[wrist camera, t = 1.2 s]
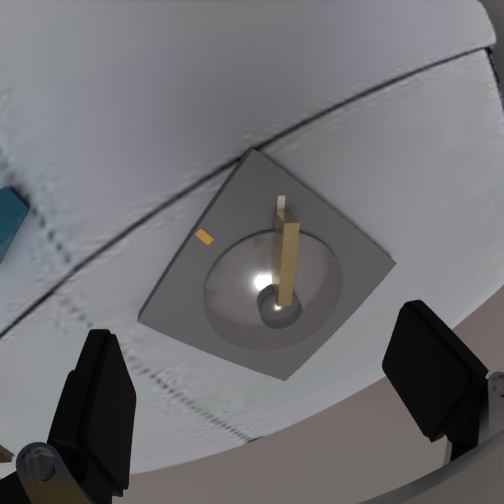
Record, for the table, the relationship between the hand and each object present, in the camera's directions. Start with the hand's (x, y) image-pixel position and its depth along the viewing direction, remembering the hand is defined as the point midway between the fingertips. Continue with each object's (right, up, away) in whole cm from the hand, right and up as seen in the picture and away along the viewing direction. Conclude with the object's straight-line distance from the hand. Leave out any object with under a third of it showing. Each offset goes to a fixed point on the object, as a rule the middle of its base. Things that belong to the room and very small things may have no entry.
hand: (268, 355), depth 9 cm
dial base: (+2, -1, +32) cm, 32 cm away
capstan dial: (+2, -1, +29) cm, 29 cm away
